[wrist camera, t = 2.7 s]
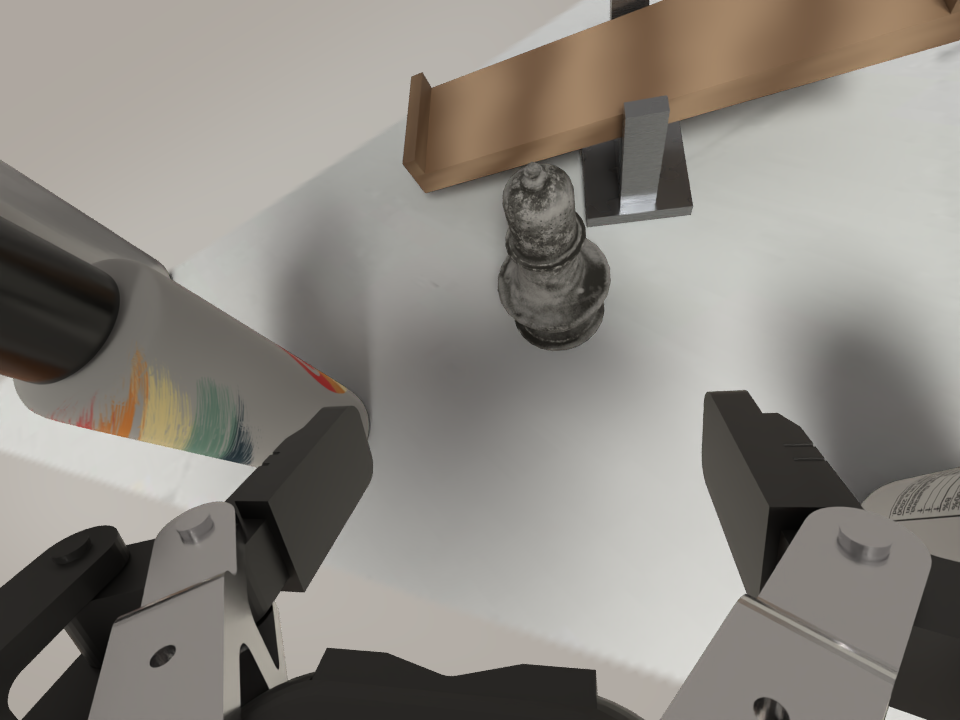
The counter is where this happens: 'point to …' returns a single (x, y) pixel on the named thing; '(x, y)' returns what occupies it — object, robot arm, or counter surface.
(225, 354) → the lotion bottle
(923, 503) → the energy drink can
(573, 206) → the dark grey turned piece
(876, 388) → the counter surface
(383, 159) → the counter surface
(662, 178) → the pivot stand
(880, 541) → the robot arm
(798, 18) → the beam
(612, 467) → the counter surface
